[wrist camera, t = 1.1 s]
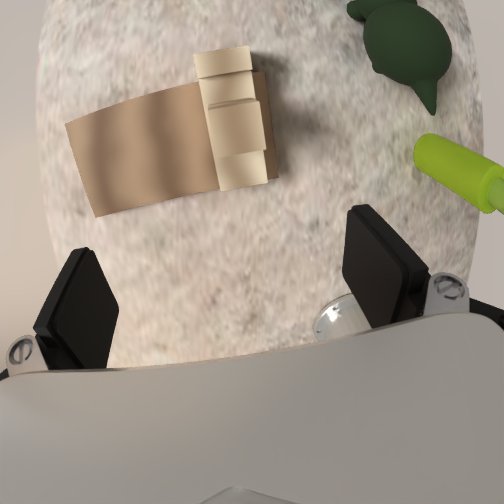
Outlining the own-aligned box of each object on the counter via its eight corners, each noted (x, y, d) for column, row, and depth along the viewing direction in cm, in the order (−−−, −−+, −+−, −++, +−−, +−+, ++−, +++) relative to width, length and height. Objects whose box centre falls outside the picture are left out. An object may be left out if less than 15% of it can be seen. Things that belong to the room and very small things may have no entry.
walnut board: (261, 71, 28) (263, 71, 26) (275, 172, 34) (278, 177, 33) (72, 121, 27) (64, 124, 25) (100, 210, 34) (95, 217, 32)
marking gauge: (243, 50, 26) (255, 38, 18) (262, 173, 34) (279, 205, 26) (195, 58, 26) (189, 49, 18) (219, 181, 33) (222, 216, 26)
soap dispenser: (402, 151, 34) (514, 222, 18) (435, 125, 32) (549, 181, 16) (416, 183, 37) (515, 263, 20) (447, 158, 35) (549, 224, 19)
